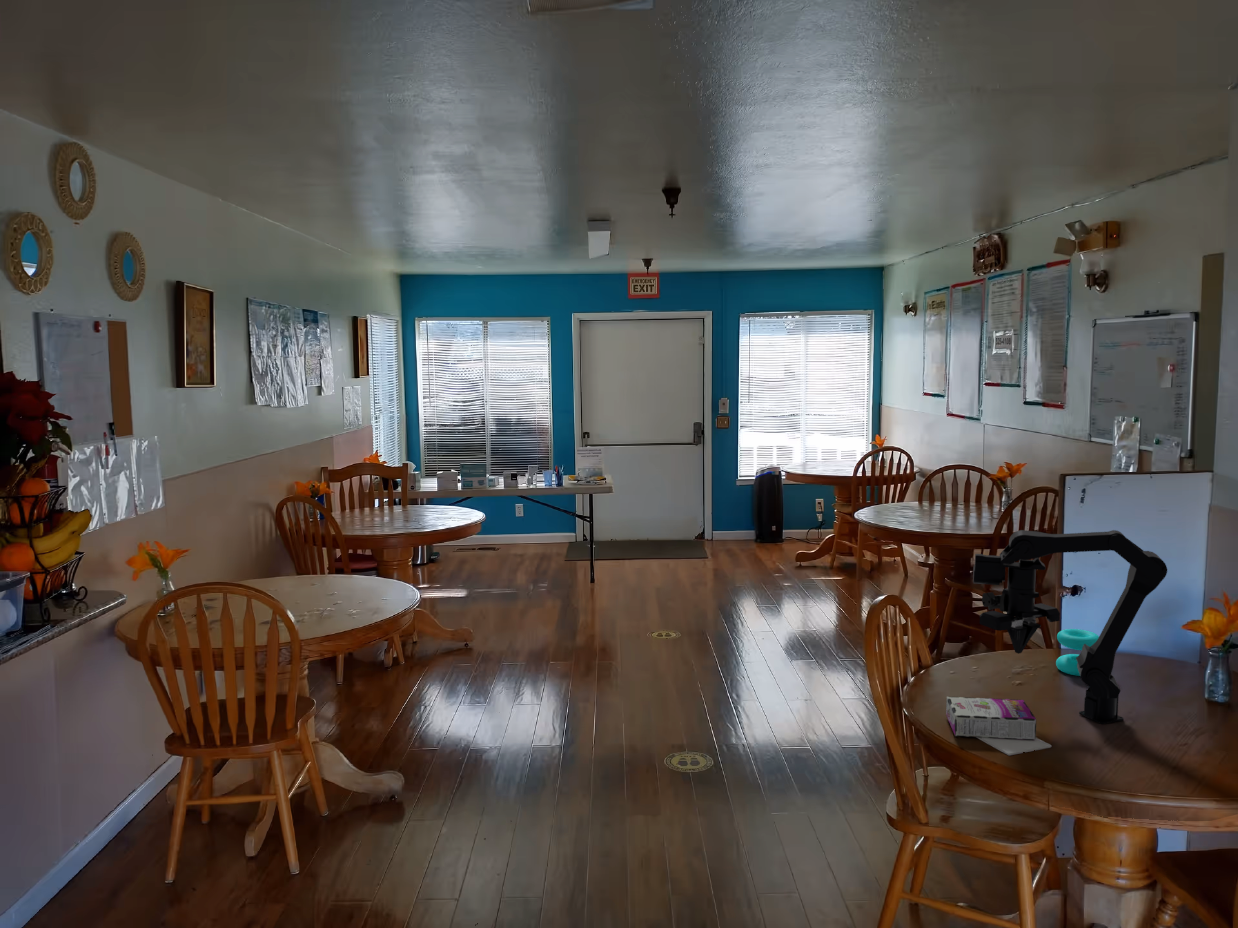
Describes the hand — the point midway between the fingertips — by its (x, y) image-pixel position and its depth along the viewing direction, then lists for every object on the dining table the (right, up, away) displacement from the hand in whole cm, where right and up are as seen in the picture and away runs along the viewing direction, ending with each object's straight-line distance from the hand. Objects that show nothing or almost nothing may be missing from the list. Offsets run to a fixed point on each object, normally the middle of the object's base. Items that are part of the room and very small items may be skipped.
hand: (1018, 652), depth 206 cm
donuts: (+26, -10, +25) cm, 37 cm away
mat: (-9, -15, -16) cm, 23 cm away
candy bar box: (-3, -12, -12) cm, 17 cm away
